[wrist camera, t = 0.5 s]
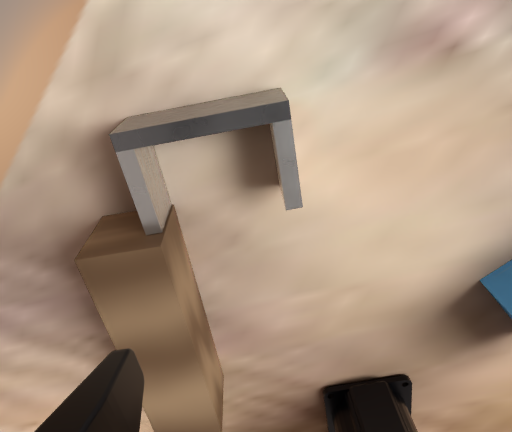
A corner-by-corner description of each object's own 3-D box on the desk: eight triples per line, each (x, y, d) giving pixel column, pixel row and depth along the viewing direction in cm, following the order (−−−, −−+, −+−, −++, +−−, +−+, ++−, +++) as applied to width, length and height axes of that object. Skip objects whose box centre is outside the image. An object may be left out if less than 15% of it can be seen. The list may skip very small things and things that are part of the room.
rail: (223, 372, 28) (222, 432, 24) (169, 380, 28) (159, 442, 24) (174, 202, 21) (160, 246, 17) (104, 214, 21) (74, 260, 17)
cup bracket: (294, 182, 21) (302, 207, 18) (157, 207, 21) (146, 235, 18) (281, 87, 18) (288, 100, 16) (126, 117, 18) (109, 134, 16)
